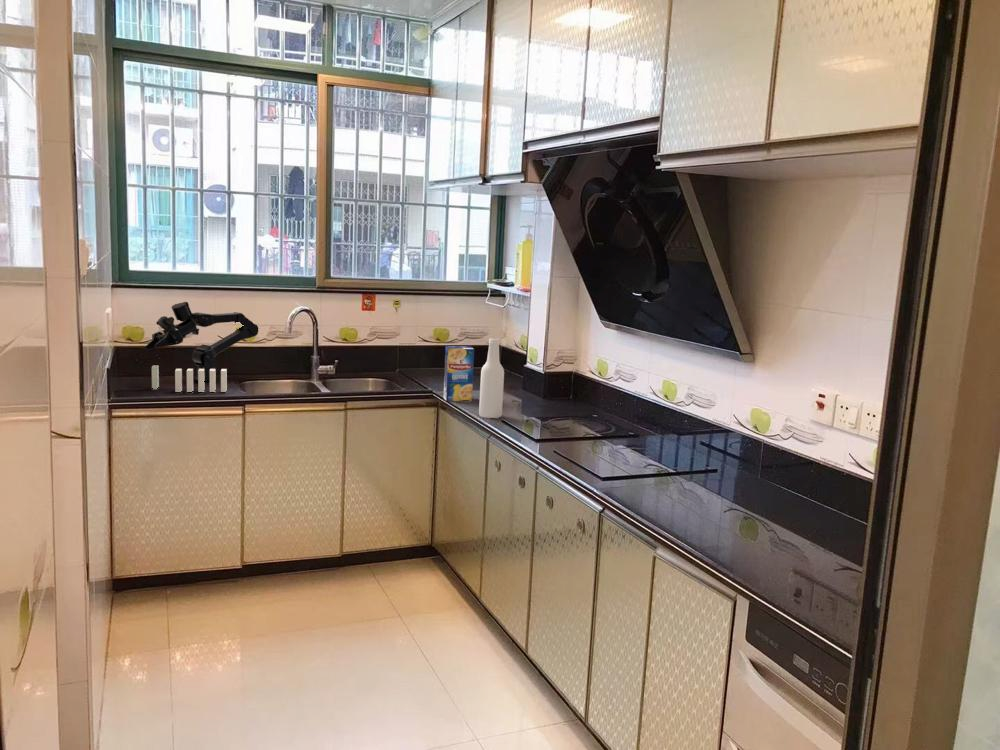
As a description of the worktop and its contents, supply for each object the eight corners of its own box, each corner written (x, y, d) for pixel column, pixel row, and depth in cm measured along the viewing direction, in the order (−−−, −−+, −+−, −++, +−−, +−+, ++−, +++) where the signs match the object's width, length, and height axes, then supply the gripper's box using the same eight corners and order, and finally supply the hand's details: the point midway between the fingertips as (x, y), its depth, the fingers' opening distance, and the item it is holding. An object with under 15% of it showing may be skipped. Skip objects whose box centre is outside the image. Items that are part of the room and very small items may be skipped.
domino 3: (186, 392, 324) (186, 370, 323) (188, 390, 329) (187, 368, 328) (192, 392, 325) (192, 370, 324) (193, 390, 330) (193, 368, 328)
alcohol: (480, 418, 307) (484, 339, 302) (477, 413, 315) (481, 336, 310) (503, 419, 308) (507, 340, 303) (499, 414, 317) (504, 337, 312)
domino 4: (198, 392, 326) (198, 370, 324) (199, 390, 330) (199, 368, 329) (203, 392, 326) (203, 370, 325) (204, 390, 331) (204, 368, 329)
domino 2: (175, 392, 323) (175, 370, 322) (176, 390, 328) (176, 368, 326) (180, 392, 324) (180, 370, 322) (182, 390, 329) (181, 368, 327)
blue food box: (472, 401, 339) (474, 349, 335) (446, 401, 336) (448, 348, 332) (468, 397, 345) (471, 346, 341) (443, 397, 342) (445, 346, 339)
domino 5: (209, 392, 327) (209, 370, 325) (210, 390, 332) (210, 368, 330) (214, 392, 327) (214, 370, 326) (215, 390, 332) (215, 368, 331)
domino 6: (221, 392, 328) (220, 370, 327) (221, 390, 333) (221, 368, 331) (226, 392, 329) (226, 370, 327) (226, 390, 333) (226, 368, 332)
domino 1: (152, 389, 328) (151, 367, 326) (153, 387, 332) (153, 365, 331) (157, 389, 328) (156, 367, 327) (158, 387, 333) (158, 365, 331)
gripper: (161, 315, 343) (129, 332, 333) (182, 310, 330) (150, 327, 320) (175, 338, 347) (143, 356, 336) (196, 334, 334) (164, 352, 324)
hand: (150, 347), depth 329 cm, fingers open, 9 cm apart
